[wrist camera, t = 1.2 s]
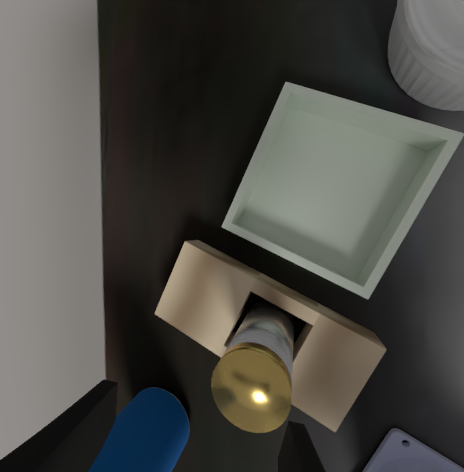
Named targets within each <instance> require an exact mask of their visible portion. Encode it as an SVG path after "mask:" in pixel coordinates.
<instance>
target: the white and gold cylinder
mask: <svg viewBox="0 0 464 472" xmlns="http://www.w3.org/2000/svg"><path fill="white" fill-rule="evenodd" d="M293 345H294V320H293V316H292V314H291V313H289V312H288V311H286V310H284V309H282V308H280V307H278V306H277V305H275V304H273V303H271V302H269V301H268V300H261V301H258V302H257V303H255V304H254V305H253V306H252V307H251V308H250V310H249V312H248V313H247V315H246V317H245V318H244V320H243V322H242V324H241V325H240V327H239V329H238V330H237V332H236V334H235V335H234V337H233V339H232V340H231V342H230V344H229V345H228V347H227V349H226V351H225V352H224V354H223V356H222V357H221V359H220V361H219V362H218V364H217V366H216V367H215V369H214V372H213V375H212V381H211V388H212V394H213V398H214V400H215V403H216V405H217V407H218V408H219V410H220V411H221V413H222V414H223V415H224V416H225V417H226V418H227V419H228V420H229V421H230V422H231V423H232V424H234V425H235V426H237V427H239V428H241V429H243V430H246V431H249V432H254V433H264V432H269V431H272V430H274V429H276V428H278V427H279V426H280V425H281V424H282V423H283V422H284V421H285V420H286V418H287V416H288V414H289V412H290V408H291V395H292V370H293Z"/></svg>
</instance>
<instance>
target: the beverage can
mask: <svg viewBox="0 0 464 472" xmlns="http://www.w3.org/2000/svg"><path fill="white" fill-rule="evenodd" d="M189 431H190V427H189V420H188V416H187V414H186V411H185V409H184V407H183V406H182V404H181V402H180V401H179V400H178V399H177V398H176V397H175V396H174V395H173V394H171V393H170V392H168V391H166V390H164V389H161V388H157V387H150V388H146V389H144V390H142V391H141V392H139V393H138V394H137V395H136V396H135V397H134V398H133V399H132V400H131V402H130V403H129V404H128V405H127V406H126V407H125V408H124V409H123V410H122V411H121V412H120V413H119V414H118V415H117V416H116V420H115V423H114V425H113V427H112V429H111V431H110V433H109V435H108V437H107V439H106V441H105V443H104V445H103V447H102V449H101V451H100V453H99V454H98V456H97V458H96V459H95V461H94V463H93V464H92V466H91V468H90V469H89V471H88V472H172V470H173V468H174V466H175V464H176V462H177V460H178V458H179V456H180V454H181V452H182V451H183V449H184V447H185V445H186V443H187V440H188V437H189Z"/></svg>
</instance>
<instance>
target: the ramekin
mask: <svg viewBox="0 0 464 472" xmlns="http://www.w3.org/2000/svg"><path fill="white" fill-rule="evenodd" d="M388 60H389V66H390V69H391V73H392V75H393V76H394V79H395V81H396V82H397V83H398V85H399V86H400V88H401V89H403V90H404V91H405V92H406V94H407V95H409V96H411V97H412V98H413V99H415V100H416V101H419V102H420V103H422V104H424V105H427V106H429V107H432V108H438V109H440V110H450V111H464V0H397V7H396V11H395V15H394V19H393V22H392V26H391V30H390V34H389V42H388Z"/></svg>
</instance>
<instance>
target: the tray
mask: <svg viewBox="0 0 464 472" xmlns="http://www.w3.org/2000/svg"><path fill="white" fill-rule="evenodd" d="M463 136H464V133H461V132H457V131H454V130H451V129H447V128H444V127H440V126H437V125H433V124H430V123H427V122H423V121H420V120H416V119H413V118H409V117H406V116H402V115H399V114H396V113H392V112H389V111H385V110H382V109H378V108H375V107H371V106H368V105H365V104H361V103H358V102H354V101H351V100H347V99H344V98H341V97H337V96H334V95H330V94H327V93H323V92H320V91H316V90H313V89H310V88H306V87H303V86H299V85H296V84H292V83H289V82H285V84H284V86H283V89H282V91H281V93H280V95H279V98H278V100H277V102H276V105H275V107H274V109H273V111H272V114H271V116H270V118H269V120H268V123H267V125H266V127H265V129H264V132H263V134H262V136H261V138H260V141H259V143H258V145H257V148H256V150H255V152H254V154H253V157H252V159H251V161H250V163H249V166H248V168H247V170H246V172H245V175H244V177H243V179H242V181H241V184H240V186H239V188H238V191H237V193H236V195H235V197H234V200H233V202H232V204H231V206H230V209H229V211H228V213H227V215H226V218H225V220H224V222H223V224H222V228H224V229H226V230H228V231H230V232H232V233H234V234H236V235H238V236H240V237H242V238H244V239H246V240H248V241H250V242H252V243H255V244H257V245H259V246H261V247H263V248H265V249H267V250H269V251H271V252H273V253H275V254H277V255H279V256H281V257H283V258H285V259H287V260H289V261H291V262H293V263H295V264H297V265H299V266H301V267H303V268H305V269H307V270H309V271H311V272H313V273H315V274H317V275H319V276H321V277H323V278H325V279H327V280H329V281H331V282H333V283H335V284H337V285H339V286H341V287H343V288H345V289H347V290H349V291H351V292H354V293H356V294H358V295H360V296H362V297H364V298H366V299H369V298H370V296H371V294H372V292H373V291H374V289H375V287H376V286H377V284H378V282H379V280H380V279H381V277H382V275H383V274H384V272H385V270H386V268H387V267H388V265H389V263H390V262H391V260H392V258H393V256H394V255H395V253H396V251H397V250H398V248H399V246H400V244H401V243H402V241H403V239H404V238H405V236H406V234H407V232H408V231H409V229H410V227H411V225H412V224H413V222H414V220H415V219H416V217H417V215H418V213H419V212H420V210H421V208H422V207H423V205H424V203H425V201H426V200H427V198H428V196H429V195H430V193H431V191H432V189H433V188H434V186H435V184H436V183H437V181H438V179H439V177H440V176H441V174H442V172H443V171H444V169H445V167H446V165H447V164H448V162H449V160H450V159H451V157H452V155H453V153H454V152H455V150H456V148H457V147H458V145H459V143H460V141H461V140H462V138H463Z"/></svg>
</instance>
